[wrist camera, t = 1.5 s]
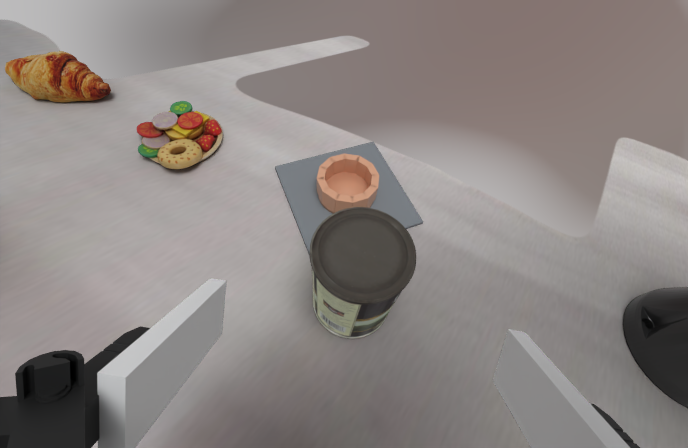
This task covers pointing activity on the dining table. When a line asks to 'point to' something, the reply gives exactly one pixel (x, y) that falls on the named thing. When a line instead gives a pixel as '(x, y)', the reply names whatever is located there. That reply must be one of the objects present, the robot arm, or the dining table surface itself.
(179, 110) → the toy food set
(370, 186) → the bowl
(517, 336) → the robot arm
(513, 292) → the dining table surface
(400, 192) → the mat
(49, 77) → the croissant
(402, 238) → the coffee can
